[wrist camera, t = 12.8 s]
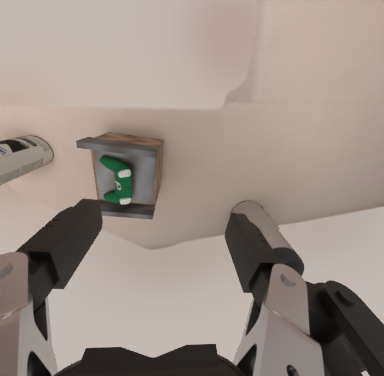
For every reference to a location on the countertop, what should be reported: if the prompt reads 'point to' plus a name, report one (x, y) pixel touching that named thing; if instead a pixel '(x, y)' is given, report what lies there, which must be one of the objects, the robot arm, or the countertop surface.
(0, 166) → the spray can
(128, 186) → the gaming controller
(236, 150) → the countertop surface
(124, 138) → the charging cradle
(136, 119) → the countertop surface
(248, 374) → the robot arm
